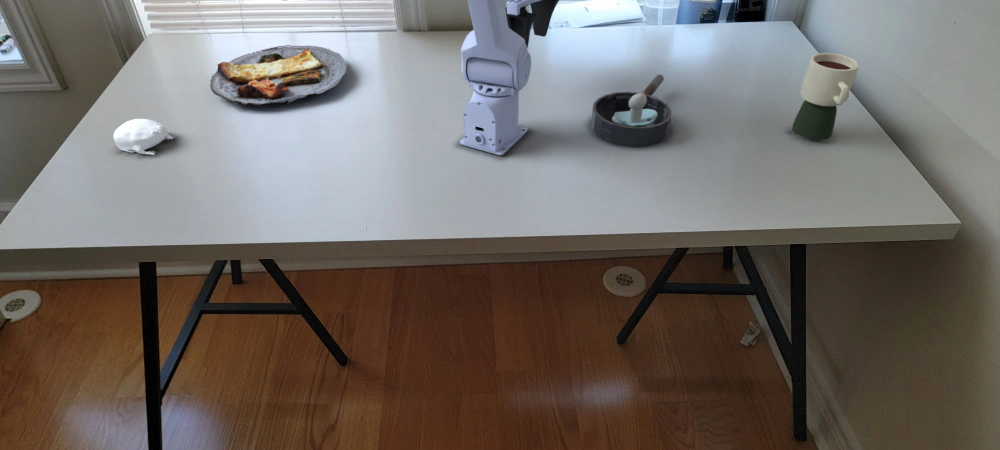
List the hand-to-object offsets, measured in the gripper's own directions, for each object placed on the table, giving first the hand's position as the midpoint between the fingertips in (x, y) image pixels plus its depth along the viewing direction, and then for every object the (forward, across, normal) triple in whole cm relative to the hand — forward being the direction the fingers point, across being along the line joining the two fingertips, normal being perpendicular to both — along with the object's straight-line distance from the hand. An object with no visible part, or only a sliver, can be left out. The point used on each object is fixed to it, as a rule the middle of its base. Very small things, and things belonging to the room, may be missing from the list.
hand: (530, 42), depth 116 cm
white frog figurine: (+10, -48, +46) cm, 67 cm away
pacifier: (+9, -4, -22) cm, 24 cm away
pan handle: (+7, +7, -21) cm, 23 cm away
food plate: (+10, -20, +43) cm, 48 cm away
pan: (+9, -4, -21) cm, 24 cm away
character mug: (+10, +9, -49) cm, 50 cm away
